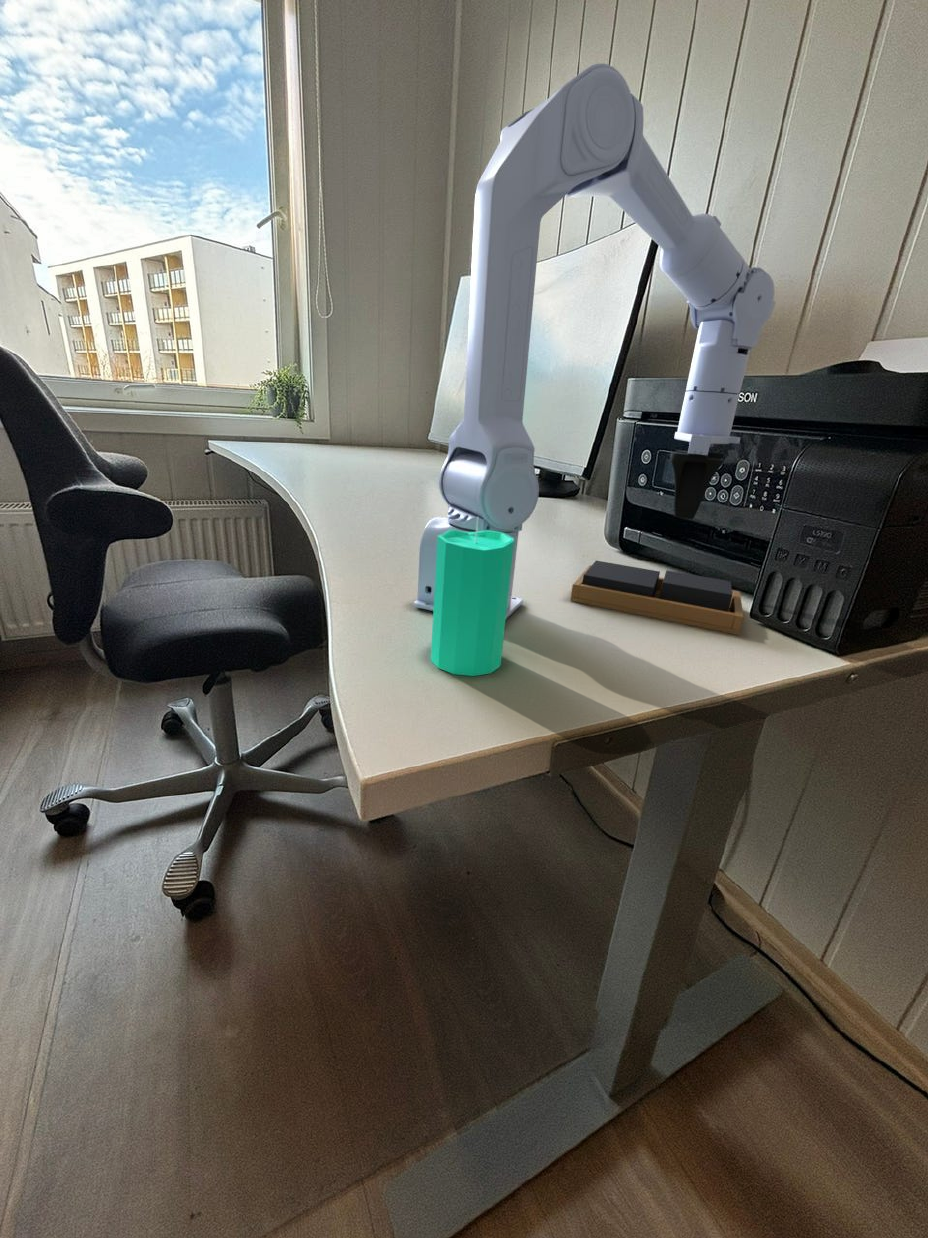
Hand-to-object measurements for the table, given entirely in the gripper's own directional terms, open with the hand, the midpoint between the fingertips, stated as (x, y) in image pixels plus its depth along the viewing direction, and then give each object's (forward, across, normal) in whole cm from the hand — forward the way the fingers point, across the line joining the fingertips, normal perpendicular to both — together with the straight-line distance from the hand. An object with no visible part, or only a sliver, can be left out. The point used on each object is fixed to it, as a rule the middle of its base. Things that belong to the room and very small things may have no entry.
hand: (685, 512), depth 67 cm
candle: (+10, -34, +14) cm, 38 cm away
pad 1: (+9, -9, +5) cm, 14 cm away
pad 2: (+9, -9, -3) cm, 13 cm away
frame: (+9, -9, +1) cm, 13 cm away
